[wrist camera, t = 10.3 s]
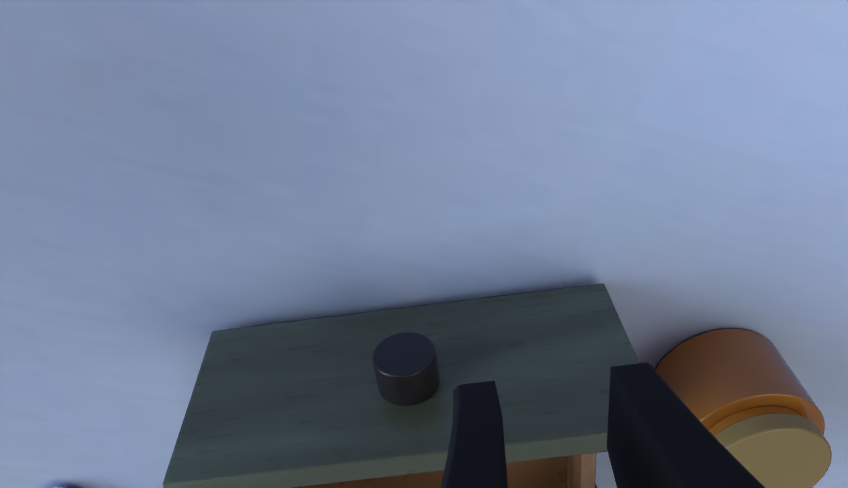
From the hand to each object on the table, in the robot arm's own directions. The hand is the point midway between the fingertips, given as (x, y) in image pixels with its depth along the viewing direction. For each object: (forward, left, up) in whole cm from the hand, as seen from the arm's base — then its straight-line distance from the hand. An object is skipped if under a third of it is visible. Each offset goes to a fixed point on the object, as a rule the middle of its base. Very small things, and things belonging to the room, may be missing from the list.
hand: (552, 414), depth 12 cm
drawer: (-11, -6, -10) cm, 16 cm away
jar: (-2, -13, -10) cm, 16 cm away
